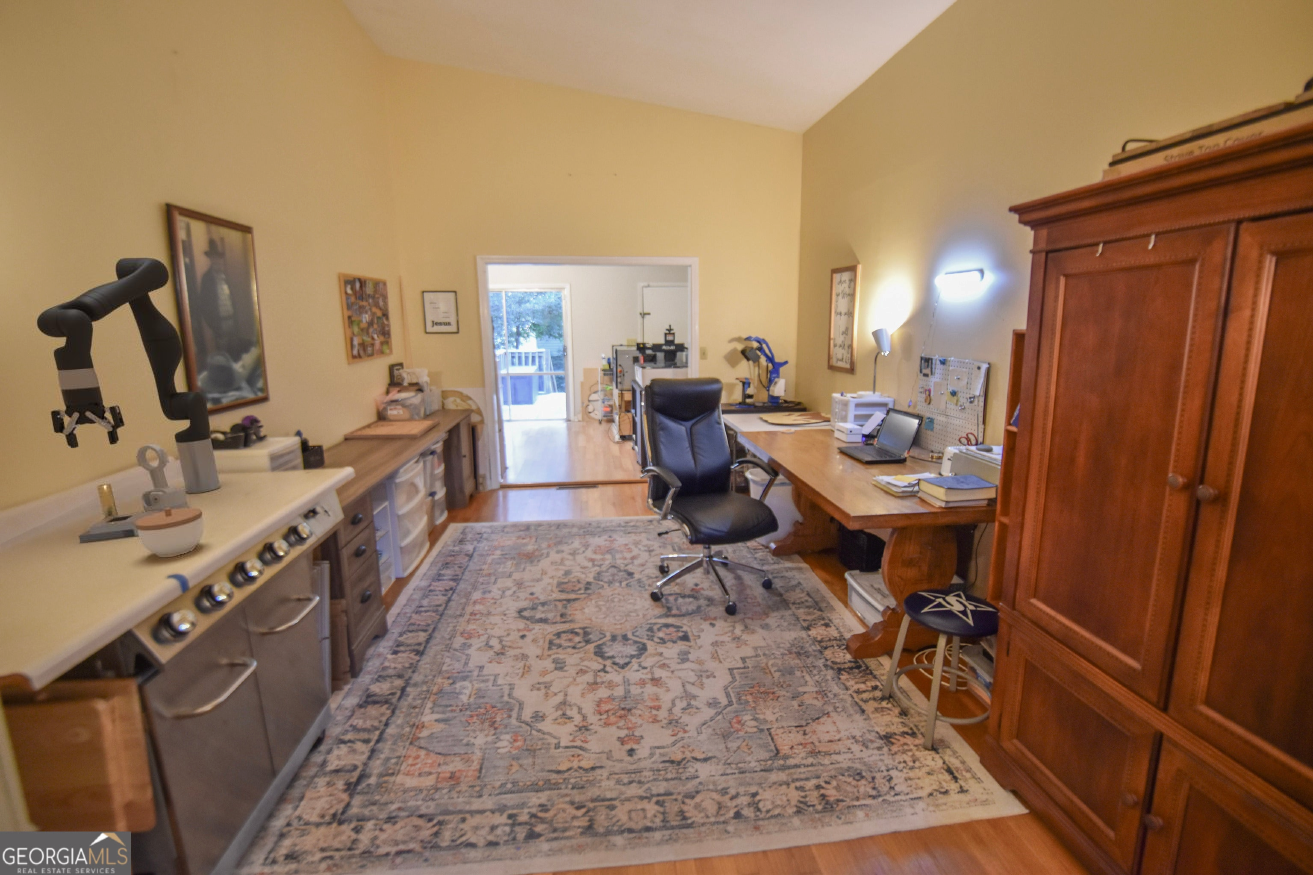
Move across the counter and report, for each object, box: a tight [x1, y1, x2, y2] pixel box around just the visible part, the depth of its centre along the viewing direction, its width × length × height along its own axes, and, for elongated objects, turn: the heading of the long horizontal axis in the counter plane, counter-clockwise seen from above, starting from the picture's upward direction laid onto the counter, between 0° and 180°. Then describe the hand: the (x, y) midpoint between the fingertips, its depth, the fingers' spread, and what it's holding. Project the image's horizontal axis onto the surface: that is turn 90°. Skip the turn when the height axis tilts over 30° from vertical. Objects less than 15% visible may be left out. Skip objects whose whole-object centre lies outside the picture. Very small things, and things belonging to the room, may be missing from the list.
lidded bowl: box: [135, 507, 204, 558], centre depth 143 cm, size 13×13×11 cm
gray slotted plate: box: [78, 507, 185, 544], centre depth 160 cm, size 9×20×4 cm, turn 109°
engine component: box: [135, 443, 189, 512], centre depth 176 cm, size 11×20×10 cm
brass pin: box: [96, 483, 119, 518], centre depth 164 cm, size 3×3×12 cm
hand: (94, 445), depth 160 cm, fingers open, 8 cm apart
